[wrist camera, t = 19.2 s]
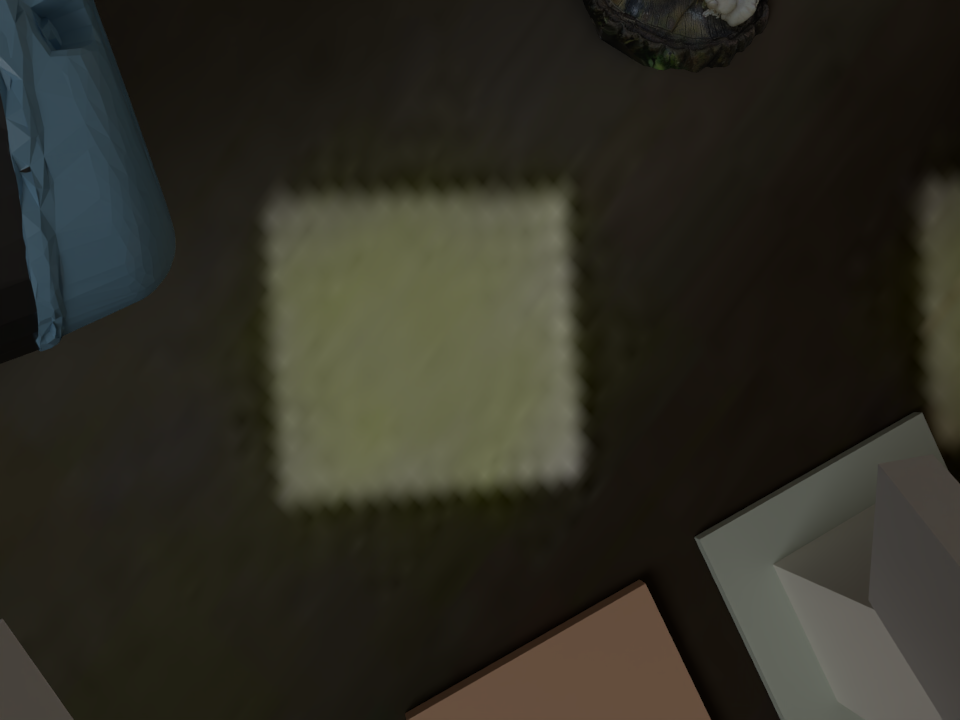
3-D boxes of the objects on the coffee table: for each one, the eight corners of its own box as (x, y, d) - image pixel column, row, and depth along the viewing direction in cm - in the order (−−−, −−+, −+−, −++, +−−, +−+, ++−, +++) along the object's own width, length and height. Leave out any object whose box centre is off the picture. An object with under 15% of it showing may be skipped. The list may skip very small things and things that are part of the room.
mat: (807, 776, 41) (814, 782, 40) (694, 536, 40) (699, 539, 39) (1016, 641, 43) (1026, 645, 43) (914, 412, 42) (922, 412, 42)
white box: (837, 701, 41) (996, 806, 31) (772, 564, 40) (913, 627, 30) (959, 623, 42) (1149, 700, 32) (898, 489, 41) (1072, 526, 32)
